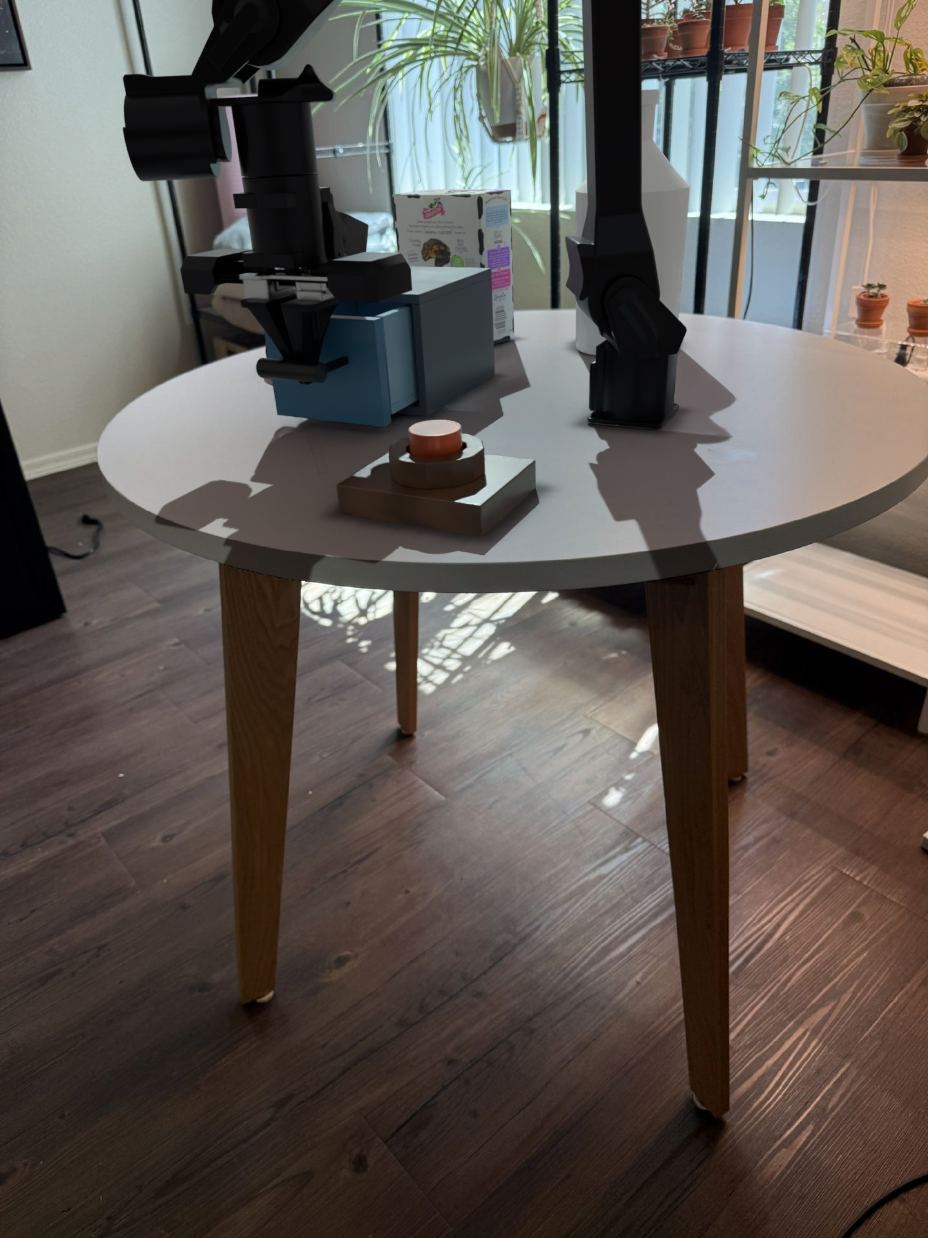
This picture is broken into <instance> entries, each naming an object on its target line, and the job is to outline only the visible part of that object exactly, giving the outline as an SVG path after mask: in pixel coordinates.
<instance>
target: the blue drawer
mask: <svg viewBox="0 0 928 1238" xmlns="http://www.w3.org/2000/svg"><path fill="white" fill-rule="evenodd" d="M263 332H264V339H265V345H266V346H267V352H268V358H266V357H260V358H258V360H257V361H256V365H255V369H256V374H257V375H258V377H260V378H262V379H271V383H272V390H273V396H274V402H275V408H276V415H277V416H281V417H282V416H283V417H292V418H301V419H308V420H309V419H310V420H319V421H328V422H338V423H345V424H347V423H348V424H355V425H364V426H373V427H380V428H381V427H383V428H384V427H387V426H388V425H390V424H391V423H392V416H391V415H394V414H396V413H395V412H397V411H399V410H401V409H403V408H405V407H406V406H408V405H410V404H412V403H414V402H415V401H417V400H419V392H418V379H417V366H416V352H415V339H414V326H413V312H412V304H403V303H379V302H374V303H355V302H342V303H339V305H338V306H337V308H336V309H335V311H334V312H333V314H332V315H331V318H330V320H329V323H328V326H327V329H326V332H325V336H324V340H323V345H322V349H321V354H320V358H319V362H312V361H299V360H286V359H284V358H283V357H282V355H281V354H280V352H279V351H278V349H277V347H276V346H275V344H274V343H273V341H272V340H271V338H270V337H269V336H268V334H267V333H266V332H265V330H264V329H263ZM298 381H304V382H313V383H311V384H309V385H303V384H300V383H299V382H298Z"/></svg>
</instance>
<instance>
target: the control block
mask: <svg viewBox="0 0 928 1238" xmlns="http://www.w3.org/2000/svg"><path fill="white" fill-rule="evenodd" d="M536 465H537V464H536V460H535V459H529V458H520V457H513V456H504V455H497V454H487V453H485V446H484V441H483V440H482V439H481V438H479V437H476V436H474V435H471V434H469V433H462V451H461V452H460V453H457V454H453V455H450V456H446V457H433V458H428V457H419V456H413V455H411V454H410V445H409V436H407V437H403V438H400V439H398V440H397V441H395V442H393V443H392V444H390V445H389V446H388V452H387V453H385V454H384V455H383V456H381V457H379V458H377V459H376V460H374V461H372V462H371V463H369V464H368V465H366V466H364V467H363V468H361V469H359V470H358V471H356V472H354V473H353V474H352V475H350V476H348V477H347V478H345V479H343V480H342V481H340V482H337V483H336V486H335V487H336V494H337V502H338V508H339V510H338V511H339V514H341V515H344V516H345V515H346V516H351V517H357V518H364V519H371V520H376V521H383V522H388V523H395V524H400V525H407V526H413V527H420V528H425V529H432V530H439V531H445V532H451V533H455V534H456V533H457V534H463V535H468V536H475V537H480V538H481V537H484V536H485V535H486V534H487V533H489V531H490V530H491V529H493V528H494V527H495V526H496V525H497V524H498V523H499V522H501V521H502V520H503V519H504V518H505V517H506V516H507V515H508V514H509V513H511V511H512V510H514V509H515V508H516V507H517V506H518V505H520V503H522V502H523V501H524V500H525V499H526V498H527V497H528V496H530V495H531V493H532V492H534V491H535V490H536V488H537V481H536V480H537V477H536V476H537V473H536V471H537V470H536Z"/></svg>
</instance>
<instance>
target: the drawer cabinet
mask: <svg viewBox="0 0 928 1238" xmlns="http://www.w3.org/2000/svg"><path fill="white" fill-rule="evenodd" d="M410 268H411V278H412V291H409V292H406V293H403V294H400V295H397V296H394V297H391V298H389V299H386V300H383V301H380V302H379V303H403V304H412V312H413V326H414V339H415V352H416V366H417V379H418V392H419V400H417V401H415V402H414V403H412V404H410V405H408V406H406V407H405V408H403V409H401V410H399V411H397V412H395V413H394V414H403V415H404V414H405V415H412V416H423V417H429V416H431V415H432V414H434V413H435V412H437V411H439V410H441V409H442V408H444V407H447V406H448V405H450V404H451V403H453V402H454V401H457V400H458V399H460V398H461V397H463V396H464V395H466V394H468V393H469V392H471V391H473V390H475V389H476V388H478V387H479V386H481V385H483V384H485V383H487V382H488V381H490V380H491V379H493V378H495V377H496V370H495V369H496V368H495V367H496V366H495V344H494V335H493V303H492V271H491V268H463V267H417V266H410Z"/></svg>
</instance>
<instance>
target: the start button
mask: <svg viewBox="0 0 928 1238" xmlns="http://www.w3.org/2000/svg"><path fill="white" fill-rule="evenodd" d="M407 430H408V431H407V432H408V437H409V445H410V454H411V455H413V456H419V457H428V458H433V457H446V456H450V455H453V454H457V453H460V452H461V451H462V434H463V432H462V425H461V423H459V422H457V421H454V420H449V419H430V420H423V421H419V422H416V423H413V424H411V425H410V426H409V427H408V429H407Z"/></svg>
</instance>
